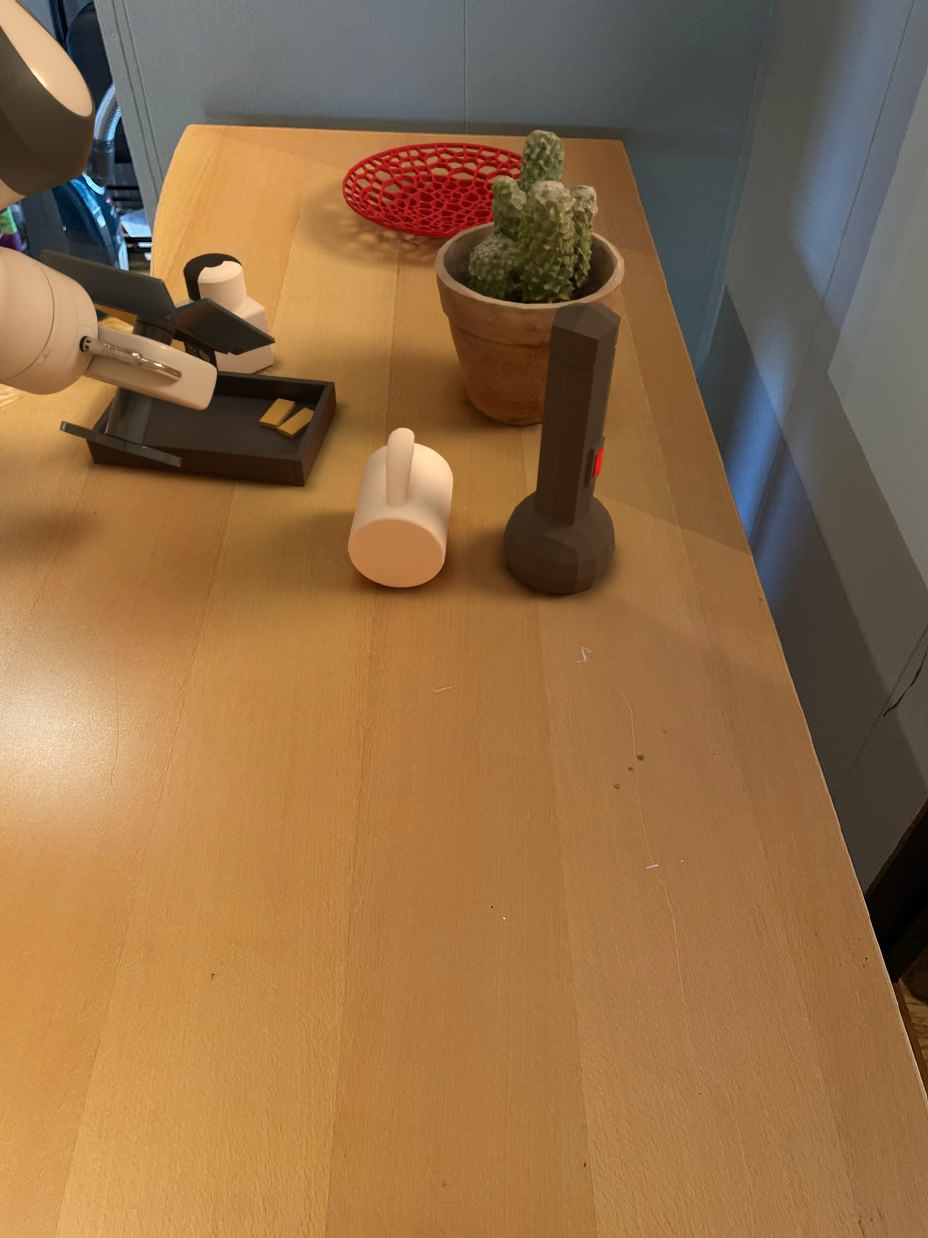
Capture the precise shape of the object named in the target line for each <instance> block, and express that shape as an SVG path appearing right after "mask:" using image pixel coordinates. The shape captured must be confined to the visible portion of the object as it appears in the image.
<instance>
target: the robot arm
mask: <svg viewBox="0 0 928 1238" xmlns="http://www.w3.org/2000/svg"><path fill="white" fill-rule="evenodd" d="M96 110H97V109H96V103H95V100H94V97H93V94H92V92H91V89H90V87H89V85H88V83H87V82H86V79H85V78H84V76H83V74H82V73H81V71H80V69H79V67H78V66H77V64H76V63H75V62H74V60H73V59H72V58H71V56H70V55H69V54H68V52H67V50H65V48H64V47H63V46H62V44H60V42H59V41H58V40H57V38H56V37H55V36H54V35H53V34H52V33H51V32H50V31H49V30H48V29H47V27H46V26H45V25H44V24H43V23H42V22H41V20H40V19H39V18H37V16H36V15H35V14H34V13H33V12H32V11H31V9H29V8H28V7H27V5H25V3H24V2H22V1H21V0H0V212H2V211H3V210H5V209H6V208H9V207H10V206H13V205H14V204H16V203H17V202H19V201H21V200H23V199H25V198H26V197H29V198H30V197H34V196H37V195H39V194H41V193H44V192H46V191H49V190H51V189H54V188H55V187H58V186H61V185H63V184H65V183H68V182H70V181H73V180H75V179H78V178H80V176H82V174H83V173H84V171H85V169H86V166H87V164H88V161H89V158H90V154H91V151H92V147H93V143H94V137H95V129H96ZM98 322H99V321H98V316H97V311H96V308H94V305H93V303H92V300H91V298H90V297H89V295H88V294H87V292H86V291H85V289H84V288H83V287H82V286H81V285H80V284H79V283H77V282H76V281H75V280H73V279H72V278H70V277H68V276H66V275H64V274H62V273H60V272H58V271H56V270H54V269H52V268H50V267H48V266H46V265H45V264H44V263H43V262H40V261H38V260H36V259H34V258H33V257H30V256H28V255H27V254H25V253H23V252H21V251H18V250H15V249H12V248H8V247H4V246H1V245H0V385H3V386H6V387H9V388H14V389H17V390H19V391H23V392H26V393H29V394H32V395H38V396H48V395H54V394H57V393H60V392H62V391H64V390H66V389H68V388H69V387H71V386H72V385H74V384H75V383H76V382H77V381H78V380H79V379H80V378H81V377H85V378H88V379H91V380H95V381H97V382H101V383H106V384H109V385H112V386H115V387H117V386H118V387H122V388H125V389H128V390H132V391H135V392H138V393H142V394H145V395H148V396H152V397H155V398H158V399H162V400H165V401H168V402H172V403H175V404H178V405H182V406H185V407H188V408H192V409H196V410H203V409H205V408H207V406H208V405H209V403H210V400H211V398H212V394H213V391H214V387H215V383H216V378H217V370H216V368H215V367H214V366H213V365H212V364H210V363H208V362H206V361H203V360H201V359H199V358H197V357H194V356H192V355H190V354H187V353H186V352H185V351H183V350H180V349H178V348H175V347H174V346H172V345H171V346H168V345H166V344H163V343H161V342H158V341H155V340H152V339H149V338H146V337H142V336H139V335H135V334H132V332H128V331H124V330H121V329H117V328H114V327H110V326H107V325H103V324H99V323H98Z"/></svg>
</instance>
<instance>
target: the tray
mask: <svg viewBox="0 0 928 1238" xmlns="http://www.w3.org/2000/svg"><path fill="white" fill-rule="evenodd" d="M336 392H337V391H336V382H335V381H329V380H319V379H308V378H301V377H300V378H298V377H288V376H279V375H278V376H277V375H269V374H257V373H252V374H248V373H238V372H228V371H217V378H216V383H215V387H214V391H213V394H212V398H211V400H210V403H209V405H208V406H207V408H205V409H203V410H196V409H192V408H188V407H185V406H182V405H178V404H175V403H172V402H168V401H165V400H162V399H158V398H156V402H155V405H154V409H153V412H152V416H151V420H150V423H149V427H148V430H147V434H146V438H145V441H144V445H145V446H148V447H151V448H154V449H158V450H161V451H164V452H167V453H170V454H173V455H176V456H179V457H182V458H183V461H182V465H181V467H178V466H174V465H170V464H167V463H163V462H160V461H156V460H153V459H149V458H146V457H142V456H139V455H136V454H132V453H129V452H126V451H122V450H119V449H116V448H113V447H109V446H106V445H103V444H100V443H97V442H93V441H90V440H87V439H85V442H86V445H87V448H88V450H89V453H90V456H91V459H92V462H93V464H96V465H103V466H114V467H122V468H133V469H143V470H151V471H159V472H169V473H178V474H189V475H197V476H198V475H199V476H207V477H218V478H226V479H234V480H235V479H236V480H246V481H255V482H265V483H272V484H273V483H274V484H281V485H282V484H283V485H292V486H301V487H302V486H303V487H305V486H306V484H307V482H308V479H309V477H310V474H311V472H312V469H313V466H314V465H315V462H316V459H317V457H318V455H319V452H320V449H321V447H322V445H323V443H324V440H325V437H326V434H327V432H328V430H329V428H330V425H331V422H332V420H333V417H334V415H335V413H336V410H337V408H338V403H337V393H336ZM114 397H115V395H114V396H113V397H112V399H111V400H110V402H109V404H108V405H107V406H106V408H105V409H104V410H103V412H102V414H101V415H100V416H99V418H98V419H97V421H96V422H95V424H94V425H93V427H92V428H91V429H93V430H96V431H100V432H103V433H105V430H106V426H107V422H108V419H109V415H110V411H111V408H112V404H113V400H114ZM278 398H279V399H284V400H288V401H293V402H295V407H294V409H293V410H292V411H291V412H290V414H289V415H288V416H287V417H286V419H285V420H284V421H283V422H282V424H284V423H285V422H286V421H288V420H289V419H290V418H292V417H293V416H294V415H296V414H297V413H298V412H300V411H301V410H302V409H304V408H307V409H309V410H312V411H314V414H313V416H312V418H311V421H310V423H309V425H308V428H307V429H305V430H304V431H303V432H301V433H300V434H299V435H297V436H296V437H295V438H294V439H292V438H289V437H287V436H285V435H283V434H281V433H278V429H273V428H269V427H264V426H260V424H259V420H260V419H261V418H262V417H263V416H264V414H265V413H266V412H267V411H268V410H269V408H270V407H271V406H272V405H273V404H274V402H275V401H276V400H277V399H278ZM282 424H281V425H282ZM281 425H280V426H281Z"/></svg>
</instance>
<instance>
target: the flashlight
mask: <svg viewBox="0 0 928 1238" xmlns="http://www.w3.org/2000/svg"><path fill="white" fill-rule="evenodd" d="M621 319H622V317H621V316H620V315H619V314H618V313H616V312H615V311H614V310H613V311H612V310H610V309H609V308H608V307H606V306H605V305H603V304H602V303H572V304H569V305H565V306H562V307H559V308H558V309H557V312H556V314H555V317H554V320H553V323H552V327H551V337H550V348H549V350H551V352H550V355H549V359H548V369H547V380H546V390H545V401H544V412H543V421H542V422H541V424H542V425H541V432H540V433H541V434H540V435H541V436H540V444H539V445H540V446H539V456H538V465H537V475H536V476H537V478H536V487H535V490H534V491H533V492H531V493H530V494H528V495H527V496H526V497H525V498H523V499H522V500H521V501H520V502H519V503H518V504H517V505H516V506H515V507H514V508H513V510H512V512H511V514H510V516H509V518H508V519H507V523H506V527H505V530H504V533H503V549H504V556H505V562H506V566H507V567H508V568H509V570H510V571H511V572H512V574H513V575H514V577H515V578H516V579H518V580H519V581H521V582H522V583H523V584H526V585H527V586H529V587H530V588H532V589H534V590H537V591H542V592H545V593H548V594H549V593H550V594H557V595H558V594H576V593H578V592H581V591H584V590H587V589H590V588H592V587H593V586H594V585H595V584H597V583H598V582H599V581H600V580H601V579H602V578H603V577H604V575H605V573H606V571H607V569H608V566H609V565H610V562H611V560H612V557H613V555H614V552H615V550H616V536H615V534H616V533H615V529H614V522H613V518H612V517H611V515H610V513H609V510H608V509H607V508H606V507H605V505H604V504H603V503H602V502H601V501H600V500H599V498H597V497H596V496H594V495H595V489H596V483H597V482H596V481H597V479H598V477H599V475H600V472H601V471H602V461H603V454H604V450H605V447H604V446H605V441H606V437H605V436H603V435H604V430H605V429H604V428H605V422H606V415H607V411H608V410H607V409H608V405H609V404H608V403H609V397H610V389H611V385H612V383H611V382H612V378H613V371H614V363H615V356H616V351H617V348H616V346H617V343H618V339H619V338H618V337H619V331H620V325H621Z"/></svg>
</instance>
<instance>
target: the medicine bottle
mask: <svg viewBox="0 0 928 1238" xmlns="http://www.w3.org/2000/svg"><path fill="white" fill-rule="evenodd" d="M182 272H183V278H184V282H185V287H186V292H187V295H188V298H186V299H183V300H181V301H178V302H177V303H176V304H174V305H175V307H176V308H178V307H180V306H183V305H186V304H189V303H192V302H195V301H198V300H201V299H204V298H209V299H211V300H212V301H214V302H216V303H217V304H219V305H220V306H222V307H224V308H225V309H227V310H229V311H230V312H232V313H234V314H235V315H237V316H238V317H240V318H242V319H243V320H245V321H247V322H248V323H250V324H252V325H253V326H255V327H256V328H258V329H260V330H261V331H263V332H265V333H266V334H268V335H270V331H269V330H270V329H269V324H268V318H267V312H266V308H265V307H264V306H263V305H261V303H259V302H257V301H256V300H254V299H253V298H252V297H250V296H249V295H247V288H246V283H245V277H244V270H243V265H242V263H241V262H240V260H239V259H237V258H236V257H234V256H232V255H230V254H227V253H221V252H219V253H218V252H209V253H204V254H200V255H197V256H195V257H193V258H190V260H188V261H187V262H186V264H185V265H184V266H183V269H182ZM182 343H183V346H184V347H183V348H184V352H185V353H187V354H190V355H192V356H194V357H197V358H199V359H201V360H203V361H206V362H208V363H210V364H212V365H213V366H214V367H215V368H216V370H217V371H228V372H238V373H248V374H255V373H256V372H259V371H261V370H263V369H266V368H269V367H270V366H272V365H273V364H274V357H273V351H272V344H270V345H267V346H264V347H261V348H257V349H254V350H251V351H248V352H245V353H243V354H241V355H234V354H232V353H229V352H228V355H227V354H223V353H219V352H216V351H212V350H209V349H205V348H202V347H198V346H194V345H191V344H187V343H184V342H182Z"/></svg>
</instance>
